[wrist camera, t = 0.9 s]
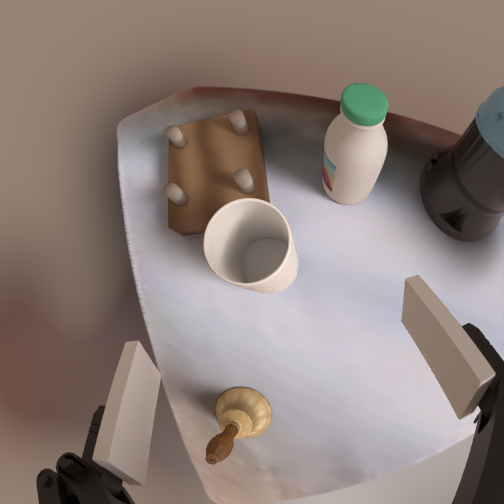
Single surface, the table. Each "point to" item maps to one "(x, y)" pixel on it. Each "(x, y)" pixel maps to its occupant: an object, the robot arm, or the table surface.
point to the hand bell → (238, 420)
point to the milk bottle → (355, 145)
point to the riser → (213, 168)
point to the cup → (251, 246)
